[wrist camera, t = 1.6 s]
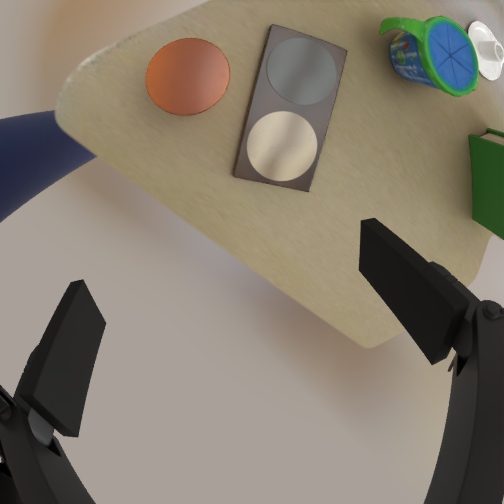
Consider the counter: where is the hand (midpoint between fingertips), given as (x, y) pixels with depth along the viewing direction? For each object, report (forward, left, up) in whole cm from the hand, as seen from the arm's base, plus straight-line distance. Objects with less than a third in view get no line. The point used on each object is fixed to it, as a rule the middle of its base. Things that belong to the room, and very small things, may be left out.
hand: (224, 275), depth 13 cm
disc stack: (-4, +9, -25) cm, 27 cm away
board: (+8, +9, -25) cm, 28 cm away
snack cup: (+23, +23, -25) cm, 41 cm away
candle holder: (+41, +36, -25) cm, 60 cm away
